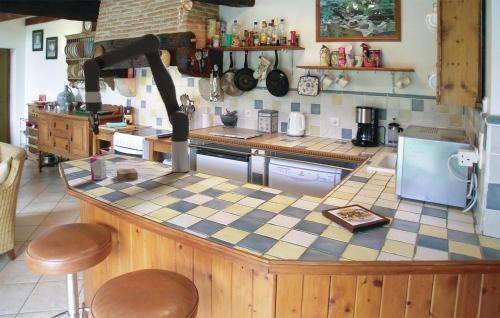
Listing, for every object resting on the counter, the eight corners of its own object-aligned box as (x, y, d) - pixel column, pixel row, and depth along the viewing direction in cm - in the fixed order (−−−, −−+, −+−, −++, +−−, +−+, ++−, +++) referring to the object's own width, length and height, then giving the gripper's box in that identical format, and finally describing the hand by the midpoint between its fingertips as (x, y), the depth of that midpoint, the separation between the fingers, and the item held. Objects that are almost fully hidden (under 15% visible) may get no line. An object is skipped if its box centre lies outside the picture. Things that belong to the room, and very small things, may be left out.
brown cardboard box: (134, 175, 219) (134, 168, 218) (137, 179, 211) (137, 172, 210) (117, 177, 215) (116, 170, 214) (119, 181, 207) (119, 174, 206)
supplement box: (107, 177, 213) (105, 156, 211) (102, 180, 207) (100, 158, 205) (96, 177, 214) (94, 156, 211) (91, 180, 208) (89, 158, 205)
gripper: (103, 101, 197) (105, 135, 201) (99, 99, 209) (102, 131, 213) (86, 102, 194) (89, 136, 197) (84, 100, 206) (86, 131, 210)
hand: (95, 133), depth 205 cm, fingers open, 8 cm apart
